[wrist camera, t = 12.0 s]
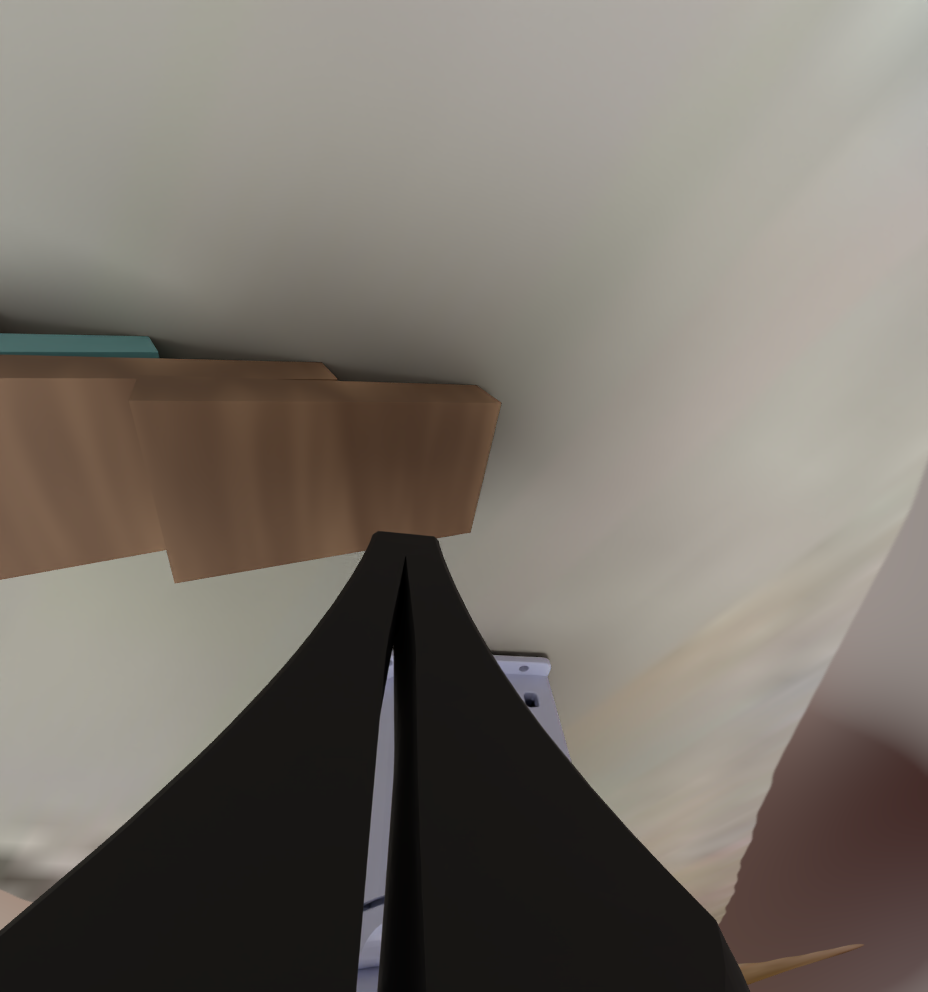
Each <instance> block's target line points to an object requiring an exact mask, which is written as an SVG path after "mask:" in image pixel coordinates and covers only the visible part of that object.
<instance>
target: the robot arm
mask: <svg viewBox="0 0 928 992" xmlns="http://www.w3.org/2000/svg"><path fill="white" fill-rule="evenodd" d="M392 648H393V650H392ZM550 670H551V664H550V661H549V659H547V658H543V657H525V656H504V655H492V653H491V651H490V650H489V648H488V646H487V645H486V643H485V641H484V639H483V638H482V636H481V634H480V633H479V631H478V629H477V627H476V625H475V623H474V622H473V620H472V618H471V616H470V614H469V612H468V610H467V608H466V606H465V604H464V602H463V600H462V598H461V596H460V594H459V592H458V590H457V588H456V586H455V584H454V581H453V579H452V577H451V574H450V572H449V570H448V567H447V565H446V562H445V560H444V557H443V554H442V551H441V548H440V545H439V541H438V540H437V539H436V538H435V537H434V536H426V535H416V534H405V533H395V532H385V531H377V532H376V533H374V534H373V535H372V537H371V540H370V543H369V545H368V547H367V549H366V551H365V553H364V555H363V557H362V559H361V561H360V562H359V564H358V566H357V568H356V569H355V571H354V573H353V574H352V576H351V577H350V579H349V581H348V582H347V584H346V585H345V587H344V588H343V590H342V591H341V593H340V594H339V596H338V597H337V599H336V600H335V602H334V603H333V604H332V606H331V607H330V609H329V610H328V611H327V613H326V614H325V615H324V617H323V618H322V619H321V621H320V622H319V623H318V624H317V626H316V627H315V628H314V630H313V631H312V632H311V634H310V635H309V636H308V638H307V639H306V640H305V641H304V643H303V644H302V645H301V646H300V648H299V649H298V650H297V651H296V652H295V654H294V655H293V656H292V657H291V658H290V659H289V661H288V662H287V663H286V664H285V665H284V666H283V668H282V669H281V670H280V671H279V672H278V673H277V674H276V676H275V677H274V678H273V679H272V680H271V681H270V682H269V683H268V685H267V686H266V687H265V688H264V689H263V690H262V691H261V692H260V693H259V694H258V695H257V696H256V697H255V698H254V699H253V700H252V702H251V703H250V704H249V705H248V706H247V707H246V708H245V709H244V710H243V711H242V712H241V713H240V714H239V715H238V716H237V717H236V718H235V719H234V720H233V721H232V723H231V724H230V725H229V726H228V727H227V728H226V729H225V730H224V731H223V732H222V733H221V734H220V735H219V736H218V737H217V738H216V739H215V740H214V741H213V742H212V743H211V744H210V745H209V746H208V747H207V748H206V749H204V750H203V751H202V752H201V753H200V754H199V755H198V756H197V757H196V758H195V759H194V760H193V761H192V762H191V763H190V764H189V765H187V766H186V767H185V768H184V769H183V770H182V771H181V772H180V773H179V774H178V775H177V776H176V777H175V778H174V779H172V780H171V781H170V782H169V783H168V784H167V785H166V786H165V787H164V788H163V789H162V790H161V791H160V792H158V793H157V794H156V795H155V796H154V797H153V798H152V799H151V800H150V801H149V802H148V803H147V804H146V805H145V806H143V807H142V808H141V809H140V810H139V811H138V812H137V813H136V814H135V815H134V816H133V817H132V818H131V819H129V820H128V821H127V822H126V823H125V824H124V825H123V826H122V827H120V828H119V829H118V830H117V831H116V832H115V833H114V834H113V835H111V836H110V837H109V838H108V839H107V840H106V841H105V842H104V843H102V844H101V845H100V846H99V847H98V848H97V849H95V850H94V851H93V852H92V853H91V854H90V855H88V856H87V857H86V858H85V859H84V860H82V861H81V862H80V863H79V864H78V865H77V866H75V867H74V868H73V869H72V870H71V871H70V872H68V873H67V874H66V875H65V876H64V877H63V878H61V879H60V880H59V881H58V882H57V883H55V884H54V885H53V886H52V887H51V888H50V889H48V890H47V891H46V892H45V893H44V894H43V895H41V896H40V897H39V898H38V899H37V900H36V901H34V902H33V903H32V904H31V905H30V906H29V907H27V908H26V909H25V910H24V911H23V912H22V913H20V914H19V915H18V916H17V917H16V918H14V919H13V920H12V921H11V922H10V923H9V924H7V925H6V926H5V927H4V928H3V929H2V930H0V992H750V990H749V988H748V986H747V983H746V981H745V979H744V976H743V974H742V972H741V970H740V968H739V966H738V964H737V962H736V960H735V958H734V956H733V954H732V952H731V950H730V949H729V947H728V945H727V943H726V941H725V938H724V936H723V934H722V932H721V930H720V928H719V926H718V924H717V922H716V920H715V919H714V918H713V917H712V916H711V915H710V914H709V913H708V912H707V911H706V909H705V908H704V907H703V906H702V905H701V904H700V903H699V902H698V901H697V900H696V899H695V898H694V897H693V896H692V895H691V894H690V893H689V892H688V891H687V890H686V889H685V888H684V887H683V886H682V885H681V884H680V883H679V882H678V881H677V880H676V879H675V878H674V877H673V876H672V875H671V874H670V873H669V872H668V871H667V870H666V869H665V868H664V867H663V865H662V864H661V863H660V862H659V861H658V860H657V859H656V858H655V857H654V856H653V855H652V854H651V853H650V852H649V851H648V849H647V848H646V847H645V846H644V845H643V844H642V843H641V842H640V841H639V840H638V839H637V838H636V837H635V836H634V835H633V833H632V832H631V831H630V830H629V829H628V828H627V827H626V826H625V825H624V824H623V822H622V821H621V820H620V819H619V818H618V817H617V816H616V814H615V813H614V812H613V811H612V810H611V809H610V808H609V807H608V805H607V804H606V803H605V802H604V801H603V800H602V799H601V798H600V796H599V795H598V794H597V793H596V792H595V791H594V790H593V789H592V787H591V786H590V785H589V784H588V783H587V781H586V780H585V779H584V778H583V776H582V775H581V774H580V773H579V772H578V770H577V769H576V768H575V767H574V765H573V764H572V762H571V759H570V755H569V751H568V748H567V744H566V741H565V737H564V733H563V730H562V726H561V723H560V719H559V715H558V712H557V708H556V705H555V701H554V698H553V694H552V690H551V687H550V683H549V680H548V677H547V676H548V674H549V672H550Z"/></svg>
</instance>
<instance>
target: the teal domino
mask: <svg viewBox="0 0 928 992" xmlns="http://www.w3.org/2000/svg"><path fill="white" fill-rule="evenodd" d="M0 355H41V356H81V357H122V358H159V354H158V351H157V349H156V348H155V346H154V345H153V343H152V341H151V340H150V338H149V337H148V336H105V335H55V334H5V333H0Z"/></svg>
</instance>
